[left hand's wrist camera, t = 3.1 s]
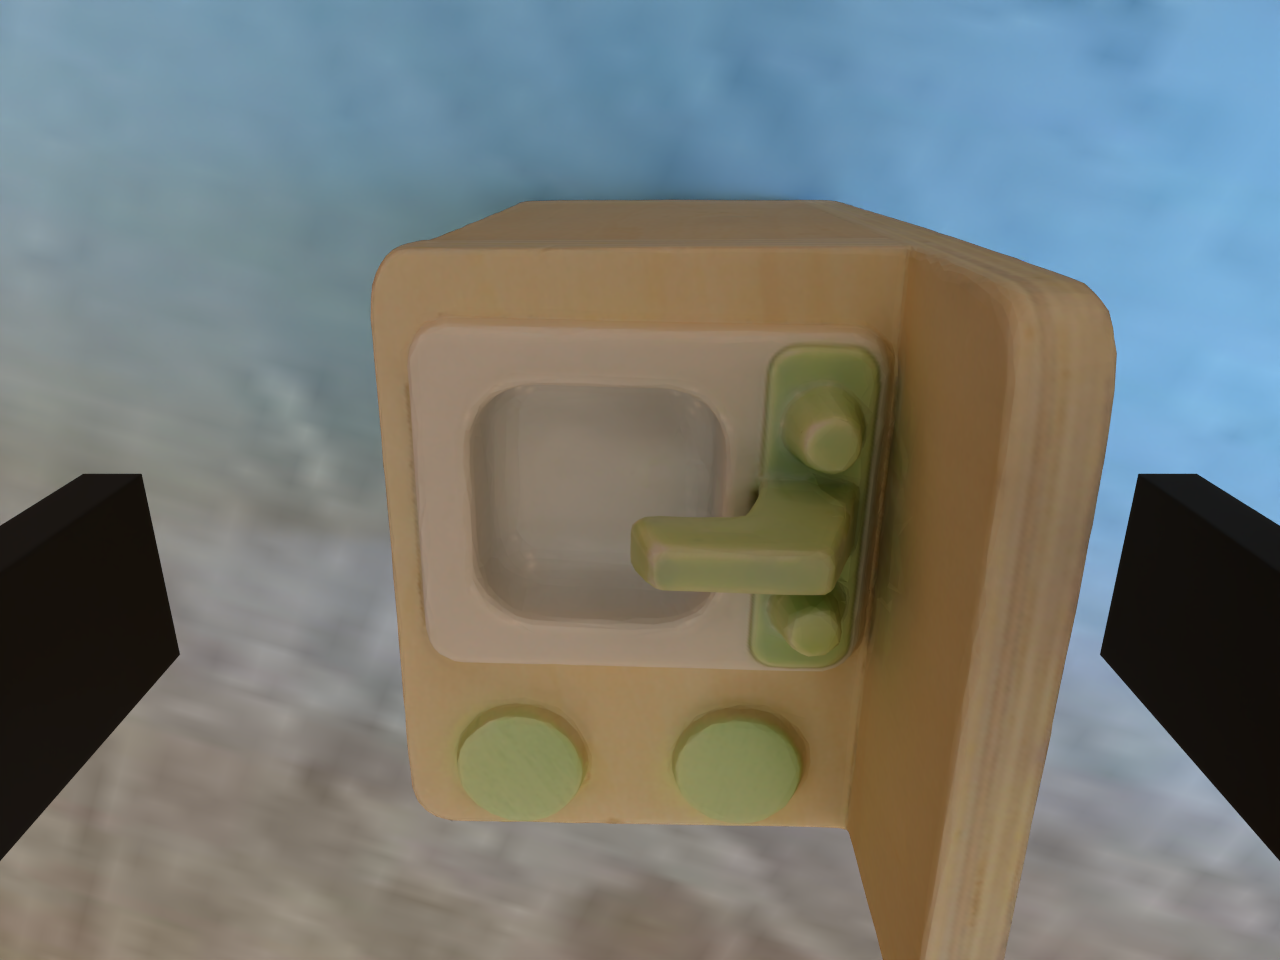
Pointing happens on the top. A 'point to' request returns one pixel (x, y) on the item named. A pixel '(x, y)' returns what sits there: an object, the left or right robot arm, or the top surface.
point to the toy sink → (743, 530)
